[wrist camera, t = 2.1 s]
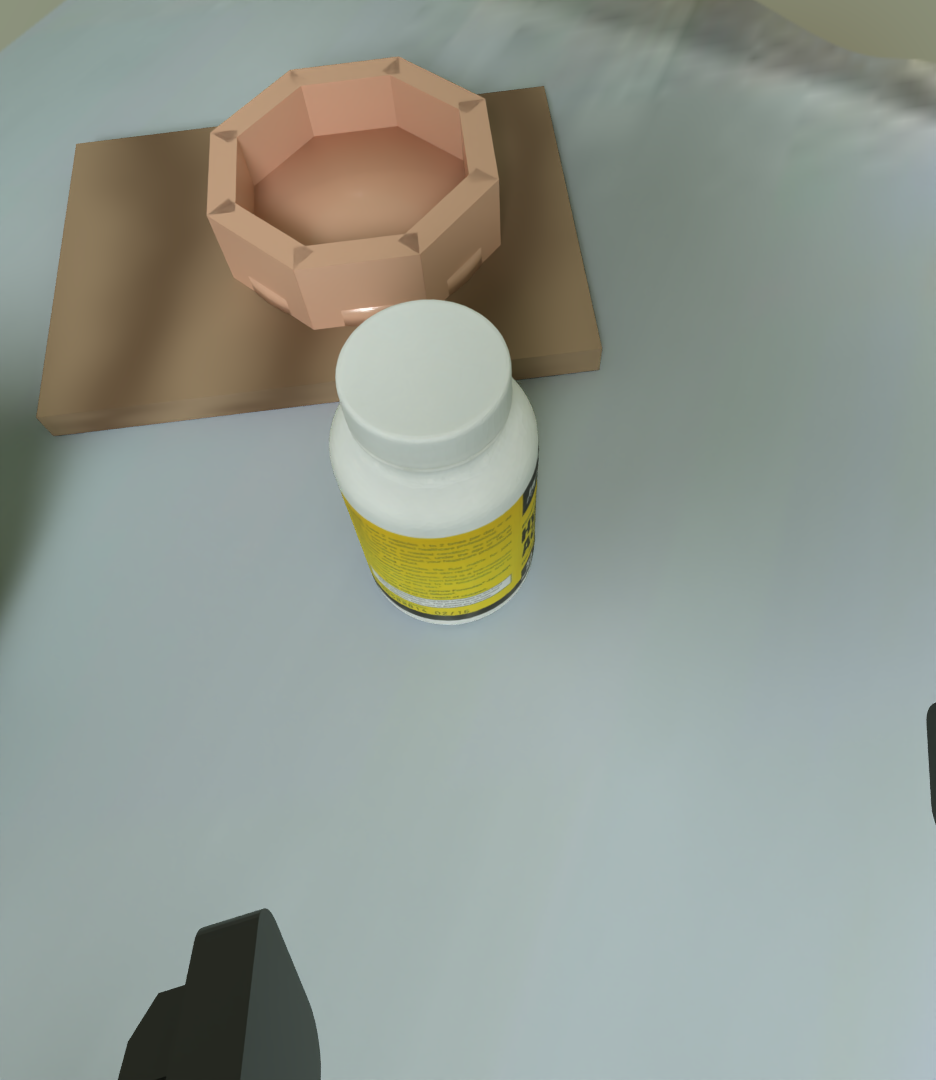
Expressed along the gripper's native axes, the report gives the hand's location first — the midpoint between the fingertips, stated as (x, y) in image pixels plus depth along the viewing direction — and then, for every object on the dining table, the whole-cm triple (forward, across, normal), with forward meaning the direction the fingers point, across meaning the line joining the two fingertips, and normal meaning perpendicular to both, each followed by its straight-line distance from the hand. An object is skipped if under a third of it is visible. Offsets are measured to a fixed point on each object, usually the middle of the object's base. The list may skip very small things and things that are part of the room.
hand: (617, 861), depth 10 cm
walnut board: (+28, +2, -8) cm, 29 cm away
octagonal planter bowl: (+27, 0, -9) cm, 28 cm away
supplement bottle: (+18, 0, +2) cm, 18 cm away
